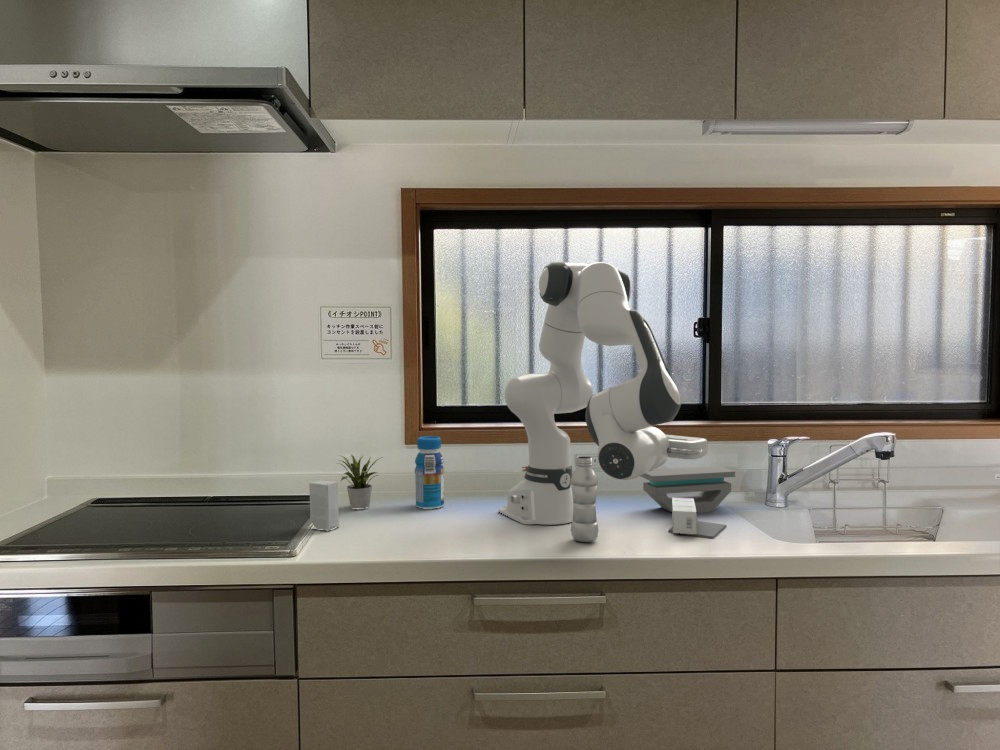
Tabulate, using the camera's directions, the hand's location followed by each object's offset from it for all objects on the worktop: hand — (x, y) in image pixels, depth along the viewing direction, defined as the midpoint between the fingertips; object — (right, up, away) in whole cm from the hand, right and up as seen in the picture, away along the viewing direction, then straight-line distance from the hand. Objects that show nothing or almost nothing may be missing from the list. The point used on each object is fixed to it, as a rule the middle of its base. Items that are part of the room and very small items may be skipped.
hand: (669, 439), depth 148 cm
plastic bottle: (-17, -25, +11) cm, 33 cm away
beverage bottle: (-58, -24, +45) cm, 77 cm away
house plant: (-79, -24, +44) cm, 94 cm away
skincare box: (-82, -25, +23) cm, 89 cm away
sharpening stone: (+15, -24, +40) cm, 49 cm away
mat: (+12, -25, +20) cm, 34 cm away
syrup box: (+7, -22, +14) cm, 26 cm away
